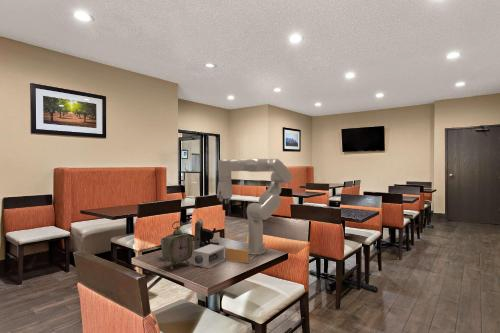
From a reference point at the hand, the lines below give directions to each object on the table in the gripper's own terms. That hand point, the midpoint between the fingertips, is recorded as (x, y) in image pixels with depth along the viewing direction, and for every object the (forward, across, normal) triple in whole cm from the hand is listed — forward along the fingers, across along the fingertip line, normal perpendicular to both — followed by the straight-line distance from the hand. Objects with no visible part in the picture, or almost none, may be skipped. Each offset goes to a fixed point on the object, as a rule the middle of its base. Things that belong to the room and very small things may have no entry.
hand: (225, 210), depth 177 cm
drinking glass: (+29, +17, -29) cm, 45 cm away
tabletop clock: (+29, +25, -16) cm, 41 cm away
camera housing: (+29, +11, -3) cm, 31 cm away
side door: (+29, +2, +10) cm, 30 cm away
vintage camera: (+29, -8, -20) cm, 37 cm away
